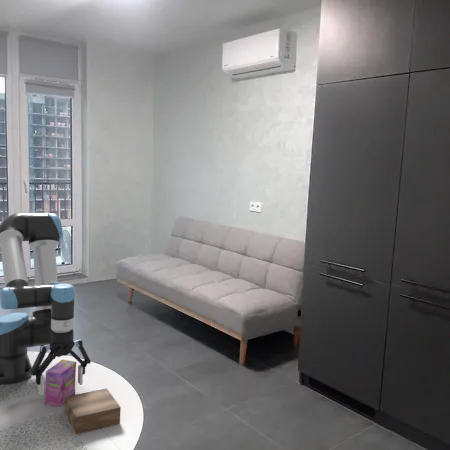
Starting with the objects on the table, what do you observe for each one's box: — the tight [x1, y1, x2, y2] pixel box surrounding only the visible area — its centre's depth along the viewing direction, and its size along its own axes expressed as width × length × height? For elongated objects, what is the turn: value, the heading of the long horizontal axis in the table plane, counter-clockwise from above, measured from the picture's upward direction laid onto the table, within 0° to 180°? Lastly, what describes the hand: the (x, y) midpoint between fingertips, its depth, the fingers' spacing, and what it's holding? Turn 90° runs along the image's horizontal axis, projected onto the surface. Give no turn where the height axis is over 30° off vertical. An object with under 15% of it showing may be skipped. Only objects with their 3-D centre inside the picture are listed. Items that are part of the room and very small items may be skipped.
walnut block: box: [63, 388, 122, 436], centre depth 148 cm, size 14×14×6 cm
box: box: [44, 359, 77, 407], centre depth 159 cm, size 10×6×12 cm, turn 168°
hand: (60, 388), depth 159 cm, fingers open, 13 cm apart
